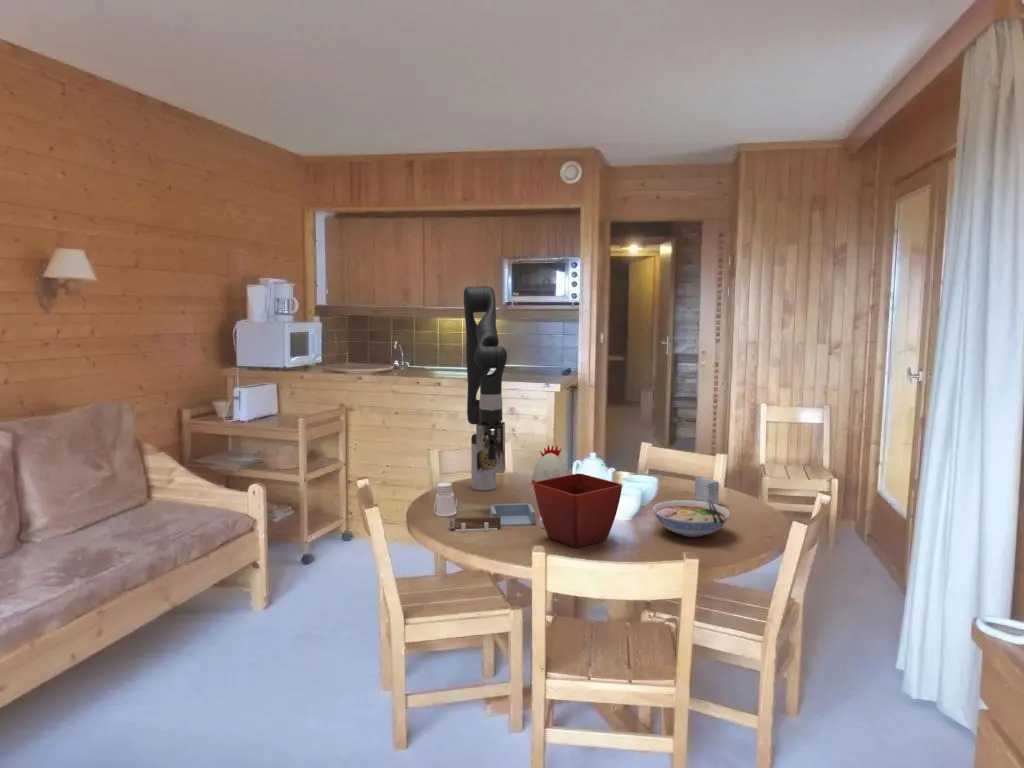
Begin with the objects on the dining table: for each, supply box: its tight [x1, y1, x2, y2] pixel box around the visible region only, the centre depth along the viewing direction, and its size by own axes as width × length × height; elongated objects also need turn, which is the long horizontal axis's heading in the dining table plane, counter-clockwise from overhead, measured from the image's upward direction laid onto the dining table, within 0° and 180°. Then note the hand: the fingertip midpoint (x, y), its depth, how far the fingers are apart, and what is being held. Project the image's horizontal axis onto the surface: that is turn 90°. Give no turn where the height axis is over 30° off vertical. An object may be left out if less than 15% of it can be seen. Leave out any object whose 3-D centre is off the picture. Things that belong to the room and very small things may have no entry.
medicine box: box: [694, 476, 720, 505], centre depth 254 cm, size 8×4×9 cm, turn 22°
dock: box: [489, 502, 536, 527], centre depth 234 cm, size 10×13×4 cm
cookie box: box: [475, 421, 506, 474], centre depth 242 cm, size 9×6×16 cm
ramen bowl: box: [652, 499, 731, 538], centre depth 221 cm, size 25×23×8 cm
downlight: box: [433, 482, 458, 517], centre depth 242 cm, size 8×7×10 cm
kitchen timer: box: [531, 444, 568, 486], centre depth 282 cm, size 14×14×15 cm
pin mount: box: [454, 516, 545, 533], centre depth 227 cm, size 6×28×2 cm, turn 96°
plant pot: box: [533, 473, 623, 548], centre depth 216 cm, size 19×19×17 cm
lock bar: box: [449, 515, 502, 530], centre depth 226 cm, size 3×16×3 cm, turn 96°
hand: (491, 456), depth 243 cm, fingers closed on cookie box, 7 cm apart
